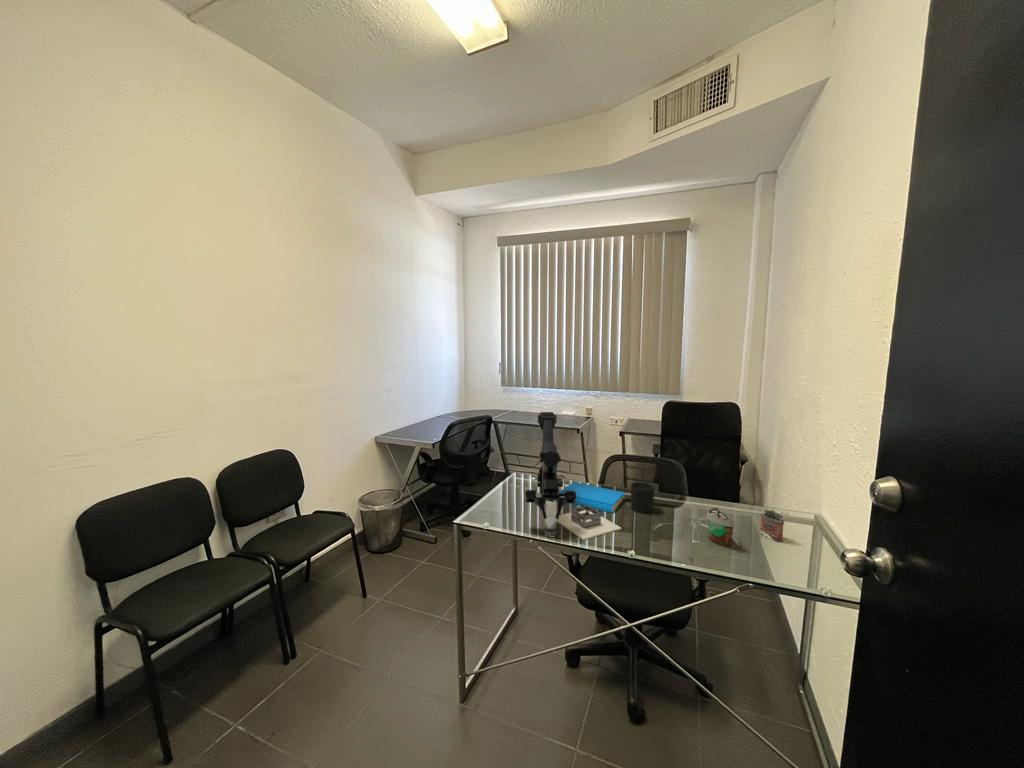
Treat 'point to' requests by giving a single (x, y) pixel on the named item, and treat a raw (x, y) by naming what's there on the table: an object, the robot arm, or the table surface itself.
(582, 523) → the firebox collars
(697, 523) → the table surface
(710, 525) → the food container
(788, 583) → the table surface
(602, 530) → the tile
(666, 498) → the table surface
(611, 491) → the book
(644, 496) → the pen holder
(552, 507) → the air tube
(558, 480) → the robot arm
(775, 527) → the lighter
